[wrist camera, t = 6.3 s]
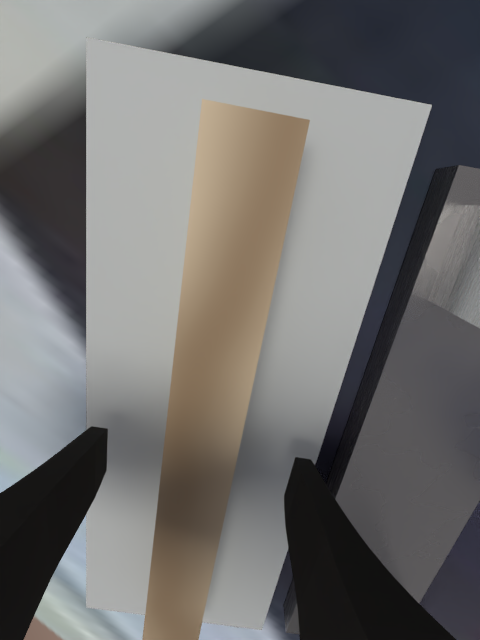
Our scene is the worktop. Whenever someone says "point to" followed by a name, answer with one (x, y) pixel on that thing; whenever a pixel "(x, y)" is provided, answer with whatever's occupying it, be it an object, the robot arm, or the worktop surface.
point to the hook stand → (419, 399)
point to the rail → (217, 345)
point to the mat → (165, 289)
